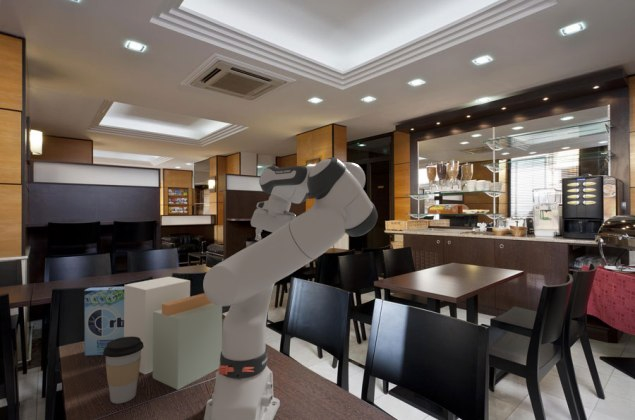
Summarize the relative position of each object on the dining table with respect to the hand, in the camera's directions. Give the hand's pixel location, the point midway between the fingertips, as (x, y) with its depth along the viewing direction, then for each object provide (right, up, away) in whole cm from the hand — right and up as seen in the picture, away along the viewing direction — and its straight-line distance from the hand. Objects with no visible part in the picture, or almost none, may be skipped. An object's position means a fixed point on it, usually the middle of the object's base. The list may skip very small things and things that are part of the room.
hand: (265, 243), depth 125 cm
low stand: (-21, -38, -22) cm, 49 cm away
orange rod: (-18, -18, -18) cm, 31 cm away
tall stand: (-34, -38, -14) cm, 53 cm away
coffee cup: (-33, -38, -36) cm, 62 cm away
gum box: (-52, -38, -8) cm, 64 cm away
